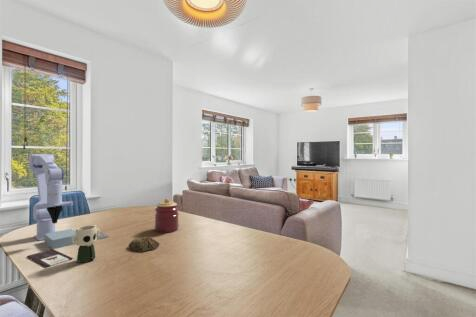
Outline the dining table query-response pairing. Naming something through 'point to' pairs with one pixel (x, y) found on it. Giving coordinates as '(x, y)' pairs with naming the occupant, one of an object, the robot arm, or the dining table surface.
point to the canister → (166, 216)
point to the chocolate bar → (49, 258)
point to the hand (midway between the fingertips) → (54, 222)
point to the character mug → (86, 242)
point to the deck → (59, 238)
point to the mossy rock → (143, 244)
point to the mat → (102, 236)
